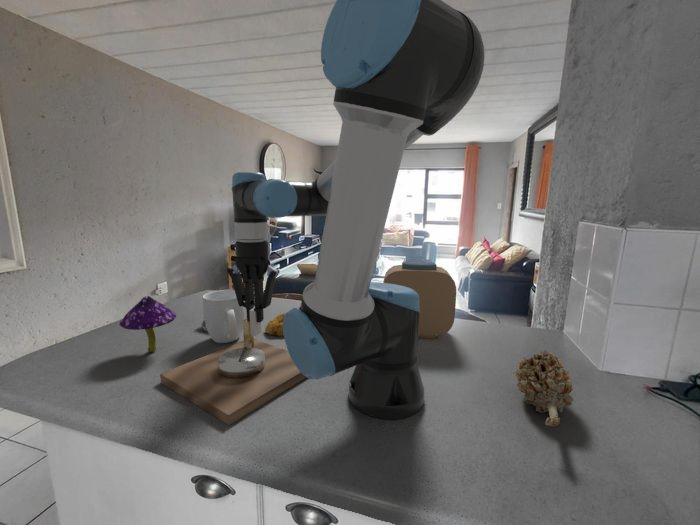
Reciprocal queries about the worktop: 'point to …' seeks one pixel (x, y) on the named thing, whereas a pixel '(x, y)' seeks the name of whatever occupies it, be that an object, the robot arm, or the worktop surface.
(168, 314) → the decorative mushroom
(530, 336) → the worktop surface
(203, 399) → the base plate
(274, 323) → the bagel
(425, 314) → the alarm clock
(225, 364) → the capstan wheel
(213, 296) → the mug
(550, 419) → the morel mushroom
